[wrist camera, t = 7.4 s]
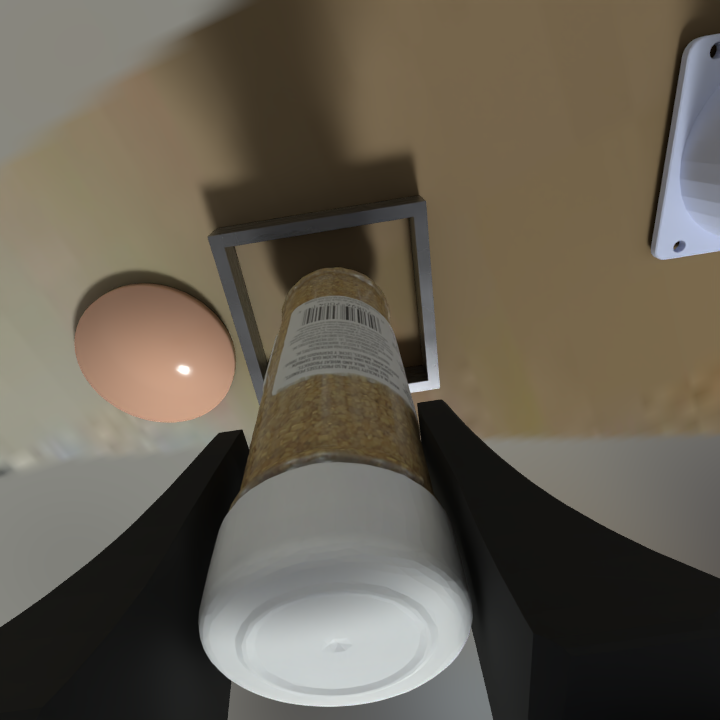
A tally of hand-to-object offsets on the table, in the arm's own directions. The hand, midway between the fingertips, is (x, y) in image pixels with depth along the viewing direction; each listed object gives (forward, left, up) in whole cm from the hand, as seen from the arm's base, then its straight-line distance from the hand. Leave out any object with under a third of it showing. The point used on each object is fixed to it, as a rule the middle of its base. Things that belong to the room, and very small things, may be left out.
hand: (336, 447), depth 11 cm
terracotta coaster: (+9, +1, -10) cm, 13 cm away
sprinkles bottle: (0, 0, -9) cm, 9 cm away
